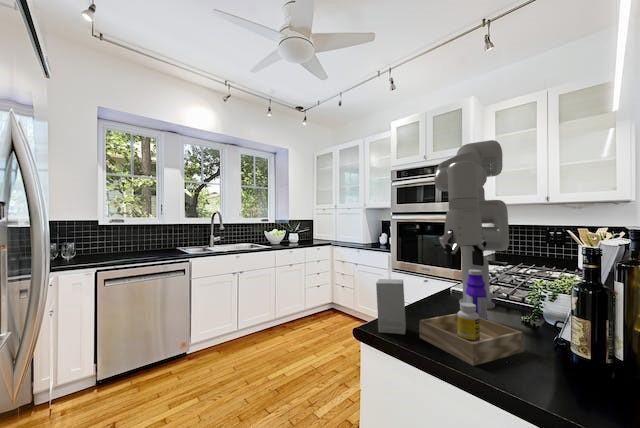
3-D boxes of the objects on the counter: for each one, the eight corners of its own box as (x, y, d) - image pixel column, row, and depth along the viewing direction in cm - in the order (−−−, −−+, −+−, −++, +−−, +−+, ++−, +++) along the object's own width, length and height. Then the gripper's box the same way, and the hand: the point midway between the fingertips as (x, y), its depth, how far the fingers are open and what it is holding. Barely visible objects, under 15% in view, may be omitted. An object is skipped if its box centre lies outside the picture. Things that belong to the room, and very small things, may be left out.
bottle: (490, 326, 90) (488, 272, 90) (471, 325, 91) (469, 272, 91) (482, 319, 97) (480, 268, 97) (464, 318, 98) (462, 268, 98)
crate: (464, 328, 89) (464, 312, 89) (523, 351, 72) (522, 332, 72) (419, 337, 82) (419, 320, 82) (473, 365, 66) (472, 344, 66)
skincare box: (406, 327, 90) (404, 279, 90) (405, 335, 84) (403, 283, 84) (379, 325, 93) (378, 278, 93) (377, 332, 86) (375, 282, 87)
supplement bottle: (479, 345, 74) (478, 308, 74) (457, 341, 77) (455, 305, 77) (480, 338, 78) (479, 303, 79) (459, 334, 81) (457, 300, 82)
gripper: (473, 206, 85) (476, 262, 85) (429, 206, 79) (431, 267, 78) (497, 204, 78) (499, 266, 78) (450, 204, 72) (453, 271, 71)
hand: (465, 266), depth 78 cm, fingers open, 9 cm apart
